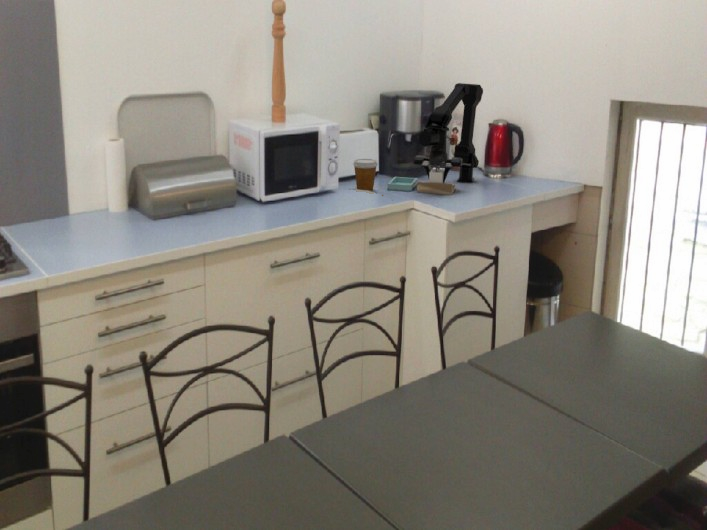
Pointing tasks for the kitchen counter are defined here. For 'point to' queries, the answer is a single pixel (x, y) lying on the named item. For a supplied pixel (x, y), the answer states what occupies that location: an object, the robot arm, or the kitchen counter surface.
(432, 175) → the white handled drawer
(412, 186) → the tray
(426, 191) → the bay
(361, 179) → the disposable coffee cup
